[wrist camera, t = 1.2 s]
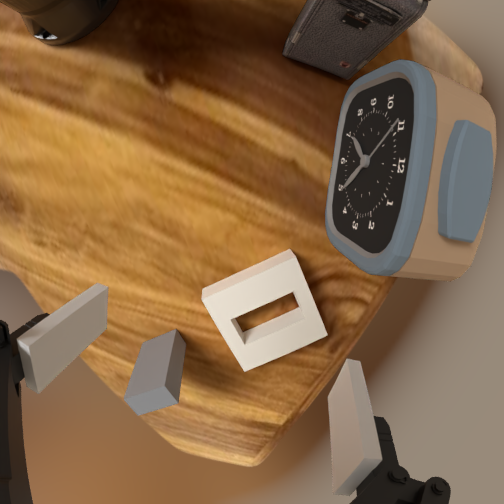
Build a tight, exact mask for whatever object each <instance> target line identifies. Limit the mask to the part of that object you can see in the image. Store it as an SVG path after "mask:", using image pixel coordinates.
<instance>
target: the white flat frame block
mask: <svg viewBox="0 0 504 504" xmlns="http://www.w3.org/2000/svg"><path fill="white" fill-rule="evenodd" d="M291 292H293V294H294V296H295V298H296V301H297V303H298V305H299V307H298V308H296V309H294V310H292V311H290V312H287V313H285V314H283V315H281V316H279V317H276V318H274V319H272V320H270V321H267V322H265V323H263V324H261V325H258V326H256V327H254V328H252V329H249V330H247V331H245V332H242V330H241V328H240V326H239V324H238V323H237V321H236V319H235V317H238V316H240V315H242V314H245V313H247V312H249V311H251V310H254V309H256V308H258V307H260V306H263V305H265V304H267V303H269V302H271V301H274V300H276V299H278V298H280V297H282V296H285V295H287V294H289V293H291ZM202 301H203V303H204V305H205V306H206V308H207V310H208V312H209V313H210V315H211V317H212V319H213V320H214V322H215V324H216V325H217V327H218V329H219V330H220V332H221V334H222V336H223V337H224V339H225V341H226V342H227V344H228V346H229V347H230V349H231V350H232V352H233V354H234V355H235V357H236V359H237V360H238V362H239V364H240V365H241V367H242V368H243V370H244V372H245V371H247V370H250V369H252V368H255V367H257V366H260V365H262V364H265V363H267V362H269V361H272V360H274V359H276V358H279V357H281V356H283V355H286V354H288V353H290V352H292V351H295V350H297V349H299V348H301V347H304V346H306V345H308V344H310V343H312V342H314V341H317V340H319V339H321V338H323V337H325V336H327V335H328V334H327V332H326V329H325V327H324V324H323V322H322V319H321V317H320V314H319V312H318V309H317V307H316V304H315V302H314V299H313V297H312V294H311V292H310V290H309V287H308V285H307V282H306V280H305V277H304V275H303V273H302V270H301V268H300V265H299V263H298V261H297V258H296V256H295V255H294V254H293V252H292V251H291V250H290V249H288V250H286V251H284V252H282V253H280V254H277V255H275V256H273V257H271V258H269V259H267V260H264V261H262V262H260V263H258V264H256V265H254V266H251V267H249V268H247V269H245V270H243V271H240V272H238V273H236V274H234V275H232V276H230V277H227V278H225V279H223V280H221V281H219V282H216V283H214V284H212V285H210V286H208V287H205V288H203V291H202Z"/></svg>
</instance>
